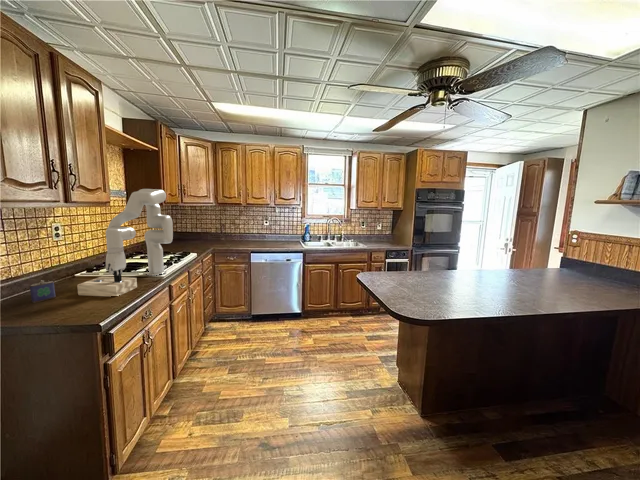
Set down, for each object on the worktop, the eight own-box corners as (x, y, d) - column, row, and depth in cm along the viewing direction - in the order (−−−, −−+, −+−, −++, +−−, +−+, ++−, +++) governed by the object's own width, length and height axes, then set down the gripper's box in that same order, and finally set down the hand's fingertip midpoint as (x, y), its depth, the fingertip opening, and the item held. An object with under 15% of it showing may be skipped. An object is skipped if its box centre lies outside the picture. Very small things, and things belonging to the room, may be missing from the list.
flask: (54, 296, 148) (52, 277, 147) (56, 297, 147) (54, 278, 145) (30, 302, 140) (28, 281, 139) (33, 303, 139) (30, 282, 137)
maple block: (102, 285, 167) (101, 276, 166) (137, 287, 166) (136, 277, 165) (78, 295, 151) (77, 284, 150) (116, 296, 151) (116, 286, 150)
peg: (98, 288, 161) (97, 279, 160) (104, 288, 161) (103, 279, 160) (93, 290, 157) (92, 281, 156) (99, 290, 157) (98, 281, 156)
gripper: (119, 247, 162) (121, 277, 165) (98, 252, 148) (101, 285, 150) (131, 248, 162) (133, 277, 165) (111, 252, 147) (114, 285, 150)
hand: (118, 281), depth 157 cm, fingers closed
